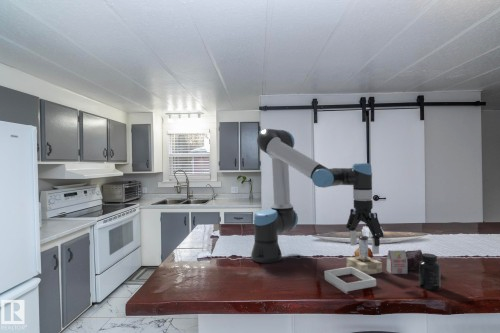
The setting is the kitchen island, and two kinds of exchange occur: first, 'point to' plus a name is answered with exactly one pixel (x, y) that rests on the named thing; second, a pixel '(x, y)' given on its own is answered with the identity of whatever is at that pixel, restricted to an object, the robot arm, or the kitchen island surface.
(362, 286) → the grey square frame
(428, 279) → the supplement bottle
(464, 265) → the kitchen island surface
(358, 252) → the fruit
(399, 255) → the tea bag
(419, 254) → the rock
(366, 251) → the pin
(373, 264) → the pin block
